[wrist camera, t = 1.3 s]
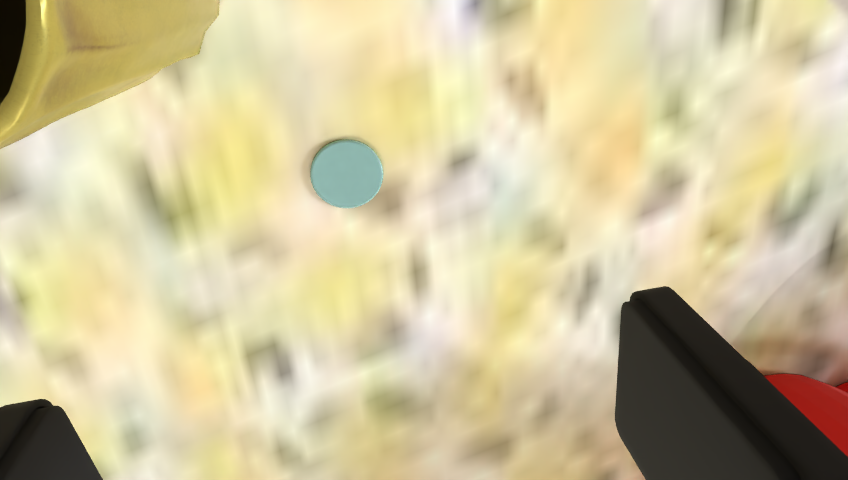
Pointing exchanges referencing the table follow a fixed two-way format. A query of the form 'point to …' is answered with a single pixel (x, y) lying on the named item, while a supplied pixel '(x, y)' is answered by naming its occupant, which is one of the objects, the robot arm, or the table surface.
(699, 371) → the robot arm
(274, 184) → the table surface
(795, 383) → the ceramic cup
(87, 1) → the vase
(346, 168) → the button
